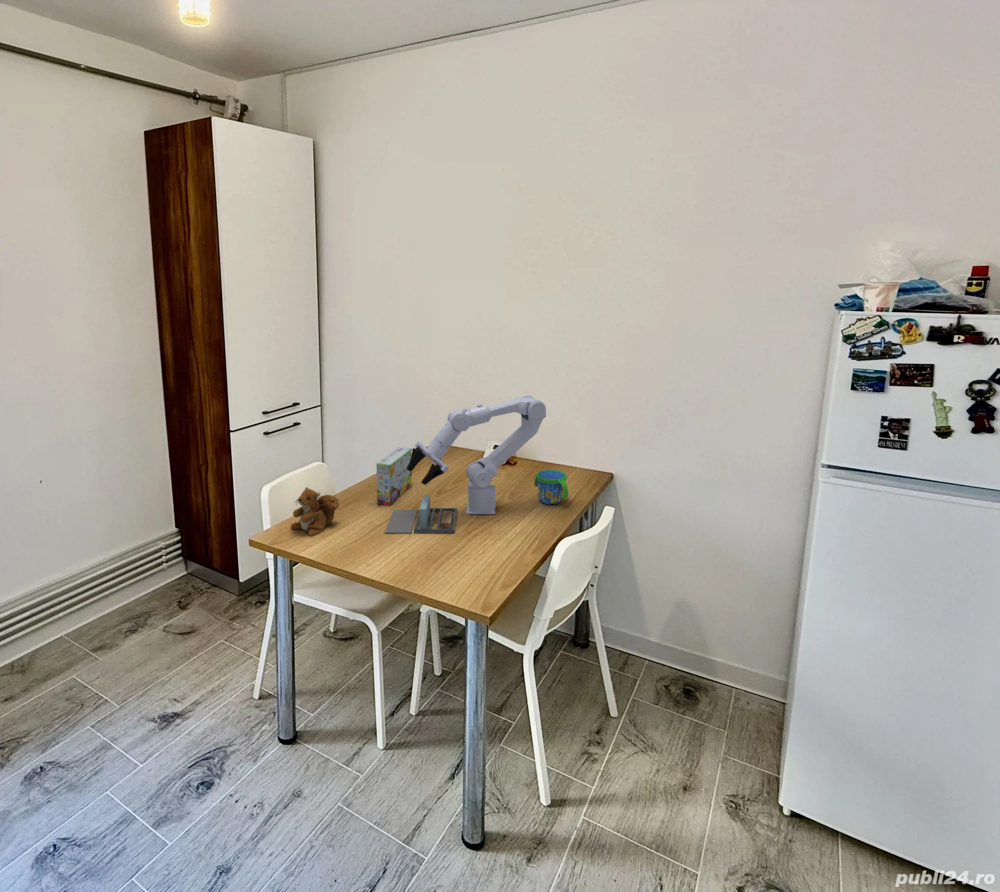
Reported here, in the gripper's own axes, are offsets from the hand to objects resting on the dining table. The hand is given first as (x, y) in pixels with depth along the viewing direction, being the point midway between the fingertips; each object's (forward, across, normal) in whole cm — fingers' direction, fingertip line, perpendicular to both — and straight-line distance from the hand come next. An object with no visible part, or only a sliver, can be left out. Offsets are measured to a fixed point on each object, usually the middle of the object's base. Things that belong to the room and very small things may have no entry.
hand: (415, 477), depth 190 cm
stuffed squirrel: (+31, -10, -11) cm, 34 cm away
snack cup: (-19, +26, +37) cm, 49 cm away
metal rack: (+8, +12, +7) cm, 16 cm away
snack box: (+13, -14, +18) cm, 27 cm away
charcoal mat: (+14, +4, +3) cm, 15 cm away
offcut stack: (+6, +14, +9) cm, 18 cm away
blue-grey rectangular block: (+10, +10, +6) cm, 15 cm away
